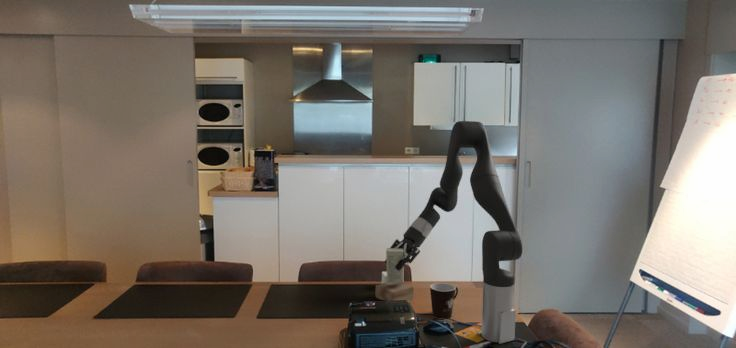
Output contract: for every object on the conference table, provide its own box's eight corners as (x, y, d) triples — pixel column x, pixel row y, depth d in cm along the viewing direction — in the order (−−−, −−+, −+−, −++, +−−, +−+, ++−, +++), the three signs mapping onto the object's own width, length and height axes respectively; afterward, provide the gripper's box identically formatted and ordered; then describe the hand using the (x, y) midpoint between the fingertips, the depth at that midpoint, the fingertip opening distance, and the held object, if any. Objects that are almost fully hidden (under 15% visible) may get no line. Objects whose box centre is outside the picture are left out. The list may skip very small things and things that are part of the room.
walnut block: (413, 299, 186) (413, 286, 185) (393, 306, 180) (393, 292, 179) (394, 292, 194) (395, 280, 193) (375, 298, 187) (375, 285, 187)
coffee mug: (435, 321, 165) (436, 292, 164) (425, 312, 174) (426, 284, 172) (467, 318, 168) (468, 289, 167) (456, 309, 177) (457, 281, 176)
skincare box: (403, 279, 188) (404, 248, 186) (403, 283, 184) (403, 251, 182) (386, 279, 188) (386, 247, 187) (385, 283, 184) (386, 250, 183)
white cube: (381, 286, 200) (381, 271, 200) (396, 285, 202) (396, 270, 201) (384, 291, 195) (385, 276, 194) (399, 290, 196) (400, 275, 195)
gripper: (401, 222, 194) (375, 255, 189) (423, 229, 181) (396, 265, 177) (412, 234, 197) (387, 267, 192) (435, 242, 184) (408, 277, 180)
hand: (391, 266), depth 185 cm, fingers closed on skincare box, 7 cm apart
